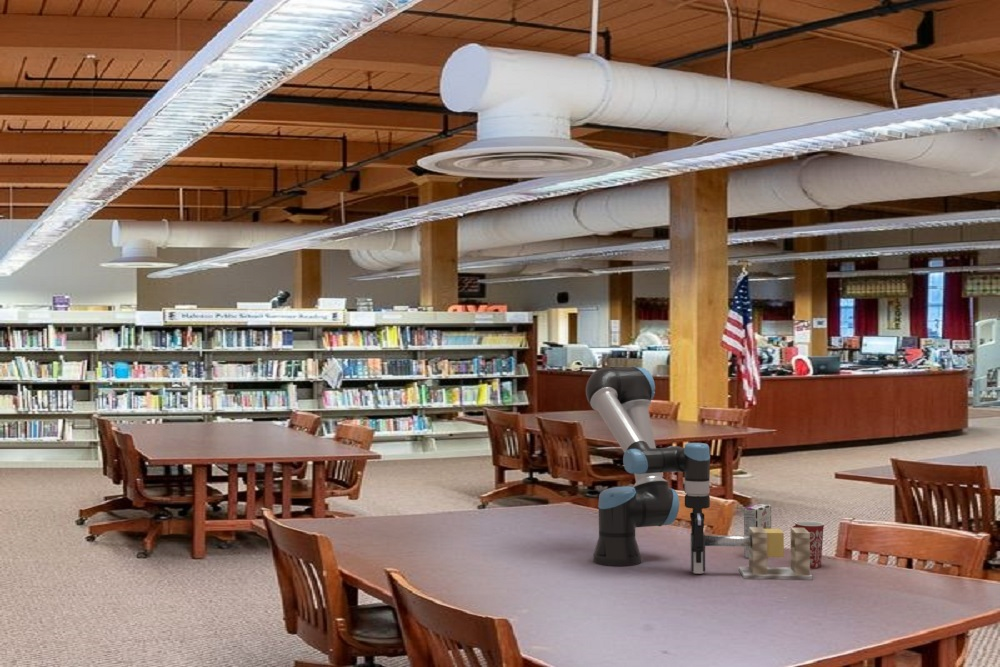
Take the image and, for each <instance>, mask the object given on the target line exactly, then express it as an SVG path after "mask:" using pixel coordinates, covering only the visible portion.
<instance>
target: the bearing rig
mask: <svg viewBox="0 0 1000 667" xmlns="http://www.w3.org/2000/svg"><path fill="white" fill-rule="evenodd" d="M749 536H752V547H749V558H748V566H738V571H739V573H740V574H741V576H742V578H743V579H744V580H745V579H746V580H800V581H801V580H802V581H803V580H806V581H807V580H810V581H812V580H813V575H812V574H811V568H810V533H809V532H808V531H807V530H806V529H805V528H792V527H790V566H789V567H786V566H784V567H782V566H780V567H779V566H778V567H776V566H775V567H774V566H773V567H771V566H770V567H769V566H768V557H767V532H766V531H765V530H764V529H763V527H749Z"/></svg>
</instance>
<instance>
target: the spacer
mask: <svg viewBox="0 0 1000 667" xmlns="http://www.w3.org/2000/svg"><path fill="white" fill-rule="evenodd" d="M764 530H765V531H766V532H767V558H785V557H784V551H785V550H784V547H785V545H784V544H785V543H784V542H785V540H784V537H785V536H784V535H785V534H784V532H783V531H782V530H781V529H780V528H771V529H764Z"/></svg>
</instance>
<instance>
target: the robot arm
mask: <svg viewBox="0 0 1000 667" xmlns="http://www.w3.org/2000/svg"><path fill="white" fill-rule="evenodd" d="M655 384H656V383H655V380H654V378H653V375H652V373H651V372H650V371H649V370H647V369H646V368H644V367H640V366H639V367H638V366H637V367H636V366H628V367H627V366H625V367H619V366H618V367H602V368H599V369H596V370H595V371H593V373H592V374H591V375H590V377H589V378H588V379H587V382H586V385H585V396H586V399H587V402H588V404H589V405H590V407H591V408H592V410H594V411H596V412H597V413H598V414H599V415H600V417H601V419H602V420H603V421H604V422H605V424H606V426H607V428H608V429H609V431H610V432H611V434H612V435H613V437H614V439H615V440H616V441H617V443H618V445H619V447H620V448H621V450H622V451H623V453H624V454H623V458H622V463H623V466H624V467H623V468H624V470H625V471H626V472H627V473H629V474H633V475H634V479H635V483H634V485H633V486H629V485H628V486H615V487H609V488H607V489H604V490H602V491H601V492H600V493H599V496H598V503H597V507H598V538H597V542H596V545H595V548H594V551H593V557H592V559H593V563H595V564H599V565H602V566H611V567H612V566H613V567H616V566H617V567H618V566H619V567H623V566H625V567H626V566H634V565H639V564H641V563H642V555H641V551H640V548H639V545H638V542H637V539H636V528H647V527H649V528H650V527H663V526H667V525H671V524H673V523H674V522H675V521H676V519H677V518H678V514H679V513H680V512H679V510H680V498H679V494H678V493H677V491H676V490H675V489H674V488H671V487H669V481H668V480H667V479H665V478H663V476H662V473H675V472H676V473H678V472H679V473H684V481H683V482H684V488H683V489H684V494H685V495H684V507H685V508H687V509H692V512H690V513H689V517H690V527H691V532H690V534H691V533H694V550H692V552H694V572H693V574H699V575H700V574H704V572H703V551H704V548H703V533H704V529H705V524H704V522H705V513H704V512H703V510H704V509H709V508H710V506H711V502H710V501H711V498H710V495H709V494H710V487H712V486H713V485H712V483H710V481H711V480H710V479H711V477H710V476H711V475H710V474H711V467H710V466H711V465H710V464H711V454H710V446H709V444H707V443H702V442H688V443H686V444H685V445H684V447H681V446H677V445H676V446H675V445H674V446H673V445H672V446H671V445H670V446H668V447H661V448H660V447H656V446H657V445H656V441H655V437H654V433H653V427H652V422H651V416H650V412H649V408H650V406H651V404H652V400H653V399H654V397H655V393H656V392H655V390H656V385H655Z"/></svg>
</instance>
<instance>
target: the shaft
mask: <svg viewBox="0 0 1000 667" xmlns="http://www.w3.org/2000/svg"><path fill="white" fill-rule="evenodd" d="M706 547H737V548H738V547H741V548H742V547H752V536H744V535H713V534H712V535H710V534H709V535H708V534H707V535H706V534H705V533H704V532H703V548H704V551H703V573H705V572H706ZM692 550H694V533H691V532H690V570H691V573H692V572H693V573H694V552H692Z"/></svg>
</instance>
